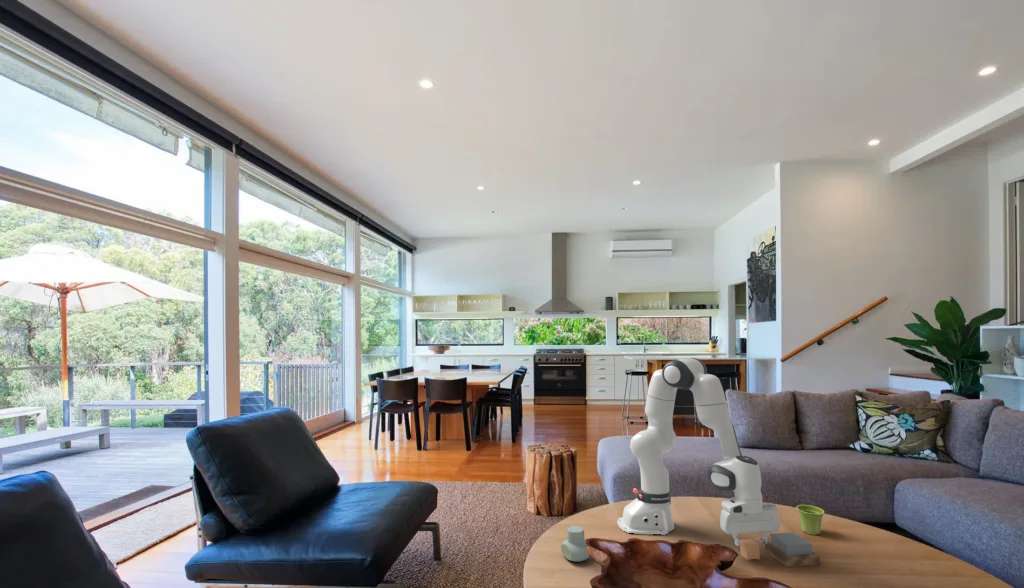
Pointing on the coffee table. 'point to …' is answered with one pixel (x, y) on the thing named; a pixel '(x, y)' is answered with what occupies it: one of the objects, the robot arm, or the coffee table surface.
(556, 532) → the coffee table surface
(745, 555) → the rust cube
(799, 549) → the upper tower block
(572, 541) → the air freshener
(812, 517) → the plant pot
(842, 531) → the coffee table surface
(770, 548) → the lower tower block
